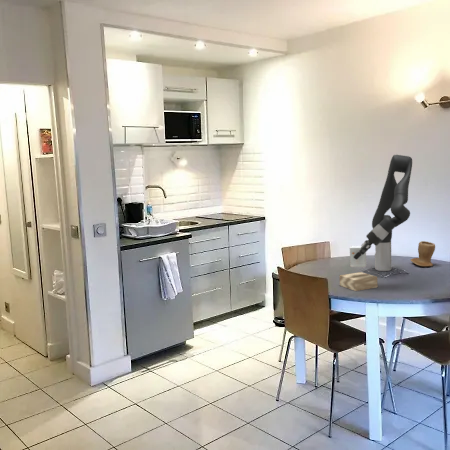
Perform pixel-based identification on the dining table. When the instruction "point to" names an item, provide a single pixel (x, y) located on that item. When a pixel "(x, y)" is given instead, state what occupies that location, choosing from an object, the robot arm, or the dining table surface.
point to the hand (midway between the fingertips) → (354, 257)
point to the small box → (361, 260)
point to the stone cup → (424, 254)
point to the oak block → (358, 281)
